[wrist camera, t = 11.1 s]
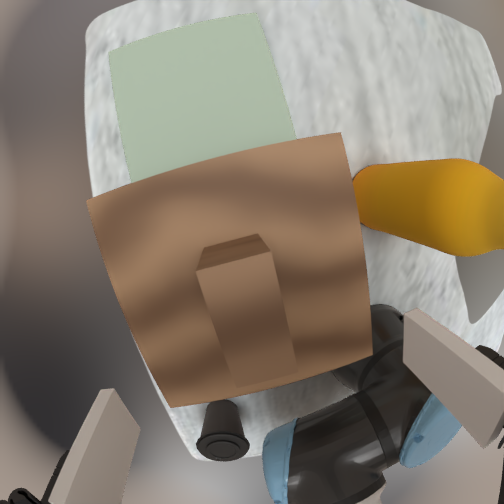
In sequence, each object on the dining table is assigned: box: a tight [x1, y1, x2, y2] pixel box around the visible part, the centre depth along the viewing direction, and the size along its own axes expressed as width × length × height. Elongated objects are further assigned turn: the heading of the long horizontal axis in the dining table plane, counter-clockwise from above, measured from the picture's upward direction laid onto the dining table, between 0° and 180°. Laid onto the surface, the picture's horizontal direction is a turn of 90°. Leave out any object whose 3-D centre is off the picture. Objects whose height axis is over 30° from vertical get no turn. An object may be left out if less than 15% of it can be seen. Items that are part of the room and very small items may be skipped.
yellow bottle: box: [353, 159, 504, 256], centre depth 23 cm, size 9×9×29 cm
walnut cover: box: [86, 132, 373, 408], centre depth 19 cm, size 20×20×8 cm
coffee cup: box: [196, 399, 250, 461], centre depth 38 cm, size 8×8×10 cm
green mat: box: [108, 13, 296, 183], centre depth 32 cm, size 22×22×1 cm
